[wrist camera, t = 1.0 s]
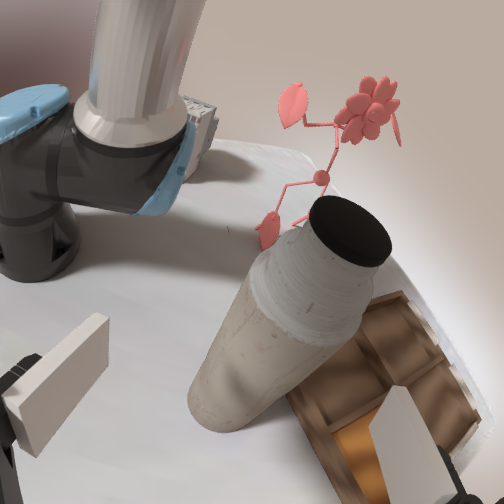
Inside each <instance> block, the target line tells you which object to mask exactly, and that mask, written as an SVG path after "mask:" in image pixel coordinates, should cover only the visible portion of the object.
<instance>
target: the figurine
mask: <svg viewBox="0 0 504 504" xmlns="http://www.w3.org/2000/svg"><path fill="white" fill-rule="evenodd" d="M396 88H397V82H396V81H393V82H390V80H389V78H388V77H387V76H385V77H382V78H381V80H380V82H379V83H378V84H377V82H376V81H375V79H374V78H373V77H370V76H364V77H363V78H362V80H361V83H360V86H359V93H358V94H355V95H353V96H351V97H349V98H348V99H347V101H346V106H345V107H344V108H343V109H341V110H340V112H339V113H338V114H337V115H336V117H335V119H334V123H308V124H307V121H306V114H305V112H306V111H307V106H308V96H307V91H306V90H305V89H304V88H303V86H302V83H301V82H297V83H296V84H294V85H290V86H289V87H288V88H287V89H286V90H285V91H283V93H282V95H281V97H280V99H279V105H278V112H279V115H280V119H281V122H282V125H283V127H284V129H286V128H288V127H290V126H292V125H293V124H295V123H296V122H298V121H299V120H301V118H303V124H304V127H316V126H334V128H335V151H334V153H333V156H332V159H331V161H330V163H329V166H328V169H327V171H324V170H319V171H317V172H316V173H315V174H314V177H313V179H314V181H306V182H299V183H292V184H286V185H285V187H284V190H283V192H282V195H281V198H280V200H279V203H278V205H277V208H276V211H275V213H274V211H273V212H270V213H268V214H267V216H266V217H265V218H264V220H263V222H262V223H261V224H260V225H258V226H256V227H255V229H256V230H257V229H259V228H260V235H259V239H260V243H261V244H262V250H263V251H264V250H266V249H268V248H269V247H270V246H271V245H272V244H273V243H274V242H275V240H276V238H277V236H278V234H279V230H280V217H279V215H278V213H277V211H278V209H279V206H280V204H281V201H282V199H283V196H284V194H285V191H286V188H287V186H293V185H300V184H308V183H316V184H317V185H318V186H325V188H324V190H323V192H322V194H321V196H320V197H322V196H323V194H324V192H325V190H326V188H327V186H328V183H329V181H330V177H329V174H328V172H329V170H330V168H331V166H332V163H333V161H334V159H335V157H336V155H337V152H338V149H339V142H338V128H341V129H343V130H344V131H343V134H342V137H341V142H342V143H346V142H348V141H349V140H350V141H351V142H352V144H354V145H356V144H357V143H359V142H360V141H361V140H362V138H363V136H365V138H367V139H369V140H375V139H376V138H377V137H378V136H379V133H380V126H381V125H384V124H386V123H387V122H388V121H389V120H390V118H391V120H392V124H393V129H394V132H395V136H396V139H397V141H398V144H399V146H401V140H400V134H399V128H398V124H397V120H396V117H395V114H394V112H395V110H396V109H397V108H398V106H399V104H400V100H398V99H392V97H393V95H394V94H395V91H396ZM390 115H391V116H390ZM344 124H347V125H346V126H345V127H344V126H341V125H344ZM309 212H310V211H309ZM309 212H308V215H307V216H305V217H303V218H301V219H299V220H298V221H296V222H294V223H292V226H294V225H296V224H298V223H300V222H302V221H303V220H305V219H308V218H309ZM227 228H228V226H227ZM228 231H229V230H228Z"/></svg>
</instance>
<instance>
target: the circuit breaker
mask: <svg viewBox="0 0 504 504" xmlns="http://www.w3.org/2000/svg"><path fill="white" fill-rule="evenodd" d="M182 99H183V100H184V102H185V104H186V106H187V112H188V114H187V119H188V120H189V121H191V122H193V123H194V124H195V125H196V138H195V143H194V147H193V151H192V155H191V158H190V161H189V164H188V166H187V169H186V170H185V175H184V179H183V181H185V180H186V179H187V178H188V177H190V176H191V175H192V174H193V173H194V172H195V171H196V170H197V169H198V167H199V164H200V161H199V160H200V158H201V157H202V154H203V153H204V152H205V151H207V150H208V149H209V148H210V146H211V143H212V140H213V137H214V133H215V131H216V129H217V124H218V121H219V118H217V117H214V115H215V111H216V109H217V108H216V107H214V106H211V105H209V104H206V103H204V102H201V101H198V100H195V99H192V98H189V97H187V96H182ZM182 183H183V182H182Z"/></svg>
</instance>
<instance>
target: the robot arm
mask: <svg viewBox="0 0 504 504" xmlns="http://www.w3.org/2000/svg"><path fill="white" fill-rule="evenodd" d="M205 2H206V0H99V1H98V7H97V13H96V21H95V27H94V36H93V45H92V54H91V66H90V80H89V90H87V91H86V92H85V93H84V94H83V95H82V96H81V97H80V98H79V99H78V100H77V102H76V103H70V102H69V101H70V99H71V95H70V92H69V90H68V88H67V87H65V86H64V87H63V86H62V85H57V84H46V85H38V86H33V87H28V88H25V89H21V90H18V91H15V92H13V93H10V94H8V95H6V96H4V97H2V98H0V272H1V273H2V274H3V275H5V276H6V277H8V278H10V279H12V280H15V281H20V282H36V281H41V280H45V279H48V278H50V277H52V276H54V275H56V274H58V273H59V272H61V271H62V270H64V269H65V268H66V267H67V266H68V265H69V264H70V263H71V262H72V260H73V259H74V257H75V256H76V254H77V251H78V249H79V244H80V235H79V225H78V221H77V219H76V216H75V214H74V212H73V210H72V208H71V205H70V203H71V204H77V205H83V206H88V207H94V208H99V209H105V210H110V211H116V212H121V213H126V214H130V215H133V216H136V215H147V216H161V215H163V214H165V213H166V212H167V211H168V210H169V209H170V208H171V206H172V205H173V203H174V201H175V199H176V197H177V194H178V192H179V190H180V187H181V185H182V182H183V179H184V175H185V170H186V169H187V166H188V164H189V161H190V158H191V155H192V151H193V147H194V143H195V138H196V125H195V124H194V123H193V122H191V121H189V120H188V119H187V114H188V112H187V106H186V104H185V102H184V100H183V99H182V97H181V96H180V95H179V94H178V90H179V86H180V82H181V79H182V75H183V71H184V68H185V65H186V61H187V58H188V54H189V51H190V48H191V44H192V41H193V38H194V35H195V32H196V29H197V26H198V23H199V20H200V17H201V14H202V11H203V8H204V5H205ZM109 319H110V317H107V316H104V315H102V314H99V313H96V312H95V313H93V314H92V315H91V316H90V317H89V318H88V319H86V320H85V321H84V322H83V323H82V324H80V325H79V326H78V327H77V328H76V329H75V330H73V331H72V332H71V333H70V334H69V335H68V336H66V337H65V338H64V339H63V340H62V341H61V342H59V343H58V344H57V345H56V346H55V347H54V348H53V349H51V350H50V351H49V352H48V353H47V354H46V355H45V356H44V357H42V356H40V355H38V354H36V353H35V354H32V355H30V356H27V357H24V358H23V359H22V360H21V361H20V362H18V363H17V365H16V366H14V367H13V368H11V369H10V371H8V372H7V373H6V374H4V375H3V376H2V377H1V378H0V504H23V500H22V496H21V491H20V486H19V482H18V476H17V471H16V465H15V459H14V452H13V447H12V443H13V442H14V441H15V440H16V439H17V442H18V444H19V447H20V448H21V449H22V450H24V451H26V452H27V453H29V454H30V455H32V456H33V457H35V458H37V457H38V455H39V454H40V453H41V451H42V450H43V449H44V447H45V446H46V445H47V443H48V442H49V441H50V439H51V438H52V437H53V435H54V434H55V433H56V431H57V430H58V429H59V427H60V426H61V425H62V424H63V422H64V421H65V420H66V418H67V417H68V416H69V414H70V413H71V412H72V411H73V409H74V408H75V407H76V406H77V404H78V403H79V402H80V400H81V399H82V398H83V397H84V395H85V394H86V393H87V392H88V390H89V389H90V388H91V387H92V385H93V384H94V383H95V382H96V380H97V379H98V378H99V377H100V375H101V374H102V373H103V372H104V370H105V369H106V368H107V367H108V350H109ZM368 427H369V430H370V433H371V436H372V440H373V443H374V446H375V450H376V453H377V456H378V460H379V463H380V467H381V470H382V474H383V477H384V481H385V484H386V488H387V492H388V495H389V499H390V503H391V504H483V503H482V501H481V500H480V499H479V498H478V497H477V496H475V495H472V494H467V493H466V491H465V489H464V487H463V485H462V482H461V480H460V478H459V476H458V474H457V472H456V470H454V469H455V468H454V466H453V464H452V463H451V462H452V461H451V459H450V457H449V455H448V453H447V452H446V451H445V450H444V449H443V448H442V447H441V446H440V445H435V442H434V440H433V438H432V436H431V434H430V432H429V430H428V428H427V426H426V424H425V422H424V420H423V418H422V416H421V414H420V413H419V411H418V409H417V407H416V405H415V403H414V401H413V399H412V397H411V395H410V393H409V392H408V390H407V388H406V387H404V386H395V385H393V386H392V388H391V389H390V391H389V393H388V395H387V396H386V398H385V400H384V402H383V403H382V405H381V407H380V408H379V410H378V412H377V413H376V415H375V417H374V418H373V420H372V421H371V423H370V425H369V426H368ZM495 504H504V497H503V498H501V499H500V500H499V501H498V502H497V503H495Z"/></svg>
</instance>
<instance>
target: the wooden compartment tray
mask: <svg viewBox="0 0 504 504" xmlns="http://www.w3.org/2000/svg"><path fill="white" fill-rule="evenodd" d="M439 343H440V341H439V339H438V338H437V336H436V335H435V333H434V332H433V330H432V329H431V327H430V326H429V324H428V323H427V321H426V320H425V318H424V317H423V315H422V314H421V312H420V311H419V309H418V308H417V306H416V305H415V303H414V302H413V301H412V300H411V301H409V300H408V298H407V297H406V296H405V294H404V293H403V291H402V290H400V291H397V292H394V293H391V294H387V295H384V296H381V297H377V298H374V299H371V301H370V302H369V303H368V305H367V308H366V310H365V311H364V313H363V314H362V321H361V323H360V326H359V328H358V330H357V331H356V333H355V334H354V335H353V337H352V338H351V339H349V340H348V341H347V342H346V343H345V344H344V345H343V346H342V347H341V348H340V349H339V350H337V351H336V352H335V353H334V354H333V355H332V356H331V357H330V358H329V359H327V360H326V361H325V362H324V363H323V364H322V365H321V366H319V367H318V368H317V369H316V370H315V371H314V372H312V373H311V374H310V375H309V376H308V377H307V378H305V379H304V380H303V381H302V382H300V383H299V384H298V385H297V386H296V387H294V388H293V389H292V390H290V391H289V392H288V393H286V396H287V398H288V400H289V402H290V404H291V406H292V408H293V410H294V412H295V414H296V416H297V418H298V420H299V422H300V424H301V426H302V428H303V430H304V432H305V434H306V435H307V437H308V439H309V441H310V443H311V445H312V447H313V449H314V451H315V453H316V455H317V457H318V459H319V461H320V462H321V464H322V466H323V468H324V470H325V472H326V474H327V476H328V478H329V479H330V481H331V483H332V485H333V487H334V489H335V491H336V492H337V494H338V496H339V498H340V500H341V502H342V504H391V503H390V499H389V495H388V492H387V488H386V484H385V481H384V477H383V474H382V470H381V467H380V463H379V460H378V456H377V453H376V450H375V446H374V443H373V440H372V436H371V433H370V430H369V427H368V426H369V425H370V423H371V421H372V420H373V418H374V417H375V415H376V413H377V412H378V410H379V408H380V407H381V405H382V403H383V402H384V400H385V398H386V396H387V395H388V393H389V391H390V389H391V388H392V386H393V385H395V386H404V387H406V388H407V390H408V392H409V393H410V395H411V397H412V399H413V401H414V403H415V405H416V407H417V409H418V411H419V413H420V414H421V416H422V418H423V420H424V422H425V424H426V426H427V428H428V430H429V432H430V434H431V436H432V438H433V440H434V442H435V445H440V446H441V447H442V448H443V449H444V450H445V451H446V452H447V453H448V455H449V457H450V459H453V458H455V457H456V456H457V454H458V453H459V452H460V451H461V450H462V448H463V447H464V446H465V444H466V443H467V442H468V441H469V439H470V438H471V437H472V435H473V434H474V433H475V431H476V430H477V429H478V427H479V426H478V424H479V423H480V421H481V420H482V419H481V417H480V416H479V414H478V412H477V410H476V408H477V406H478V405H477V403H476V402H475V400H474V398H473V396H472V394H471V393H470V391H469V389H468V387H467V386H466V384H465V382H464V380H463V379H462V377H461V375H460V374H459V372H458V370H457V368H456V367H455V365H454V364H453V365H451V364H450V363H449V361H448V360H447V358H446V356H445V355H444V353H443V351H442V350H441V348H440V347H439V345H438V344H439Z"/></svg>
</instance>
